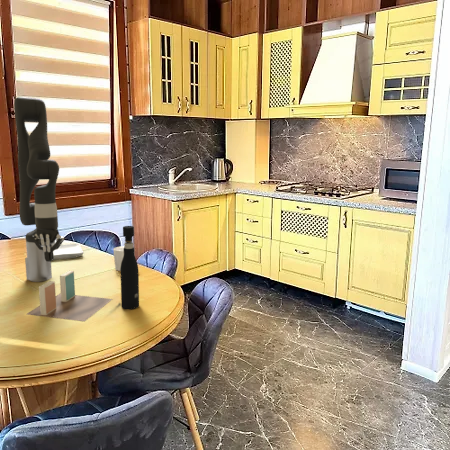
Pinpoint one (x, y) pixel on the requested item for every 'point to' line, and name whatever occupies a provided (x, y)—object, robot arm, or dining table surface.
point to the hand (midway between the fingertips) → (49, 260)
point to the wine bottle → (129, 273)
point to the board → (74, 308)
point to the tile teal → (67, 286)
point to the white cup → (118, 257)
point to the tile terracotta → (47, 297)
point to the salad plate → (68, 251)
